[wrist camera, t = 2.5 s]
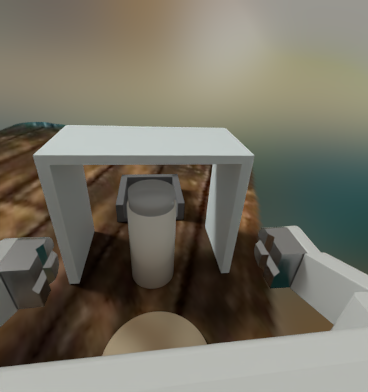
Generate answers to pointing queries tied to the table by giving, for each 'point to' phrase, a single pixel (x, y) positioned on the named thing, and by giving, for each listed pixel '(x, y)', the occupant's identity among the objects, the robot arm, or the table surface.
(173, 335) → the coaster
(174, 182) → the tray
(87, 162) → the tunnel
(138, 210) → the shaker
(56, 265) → the robot arm
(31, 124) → the table surface
